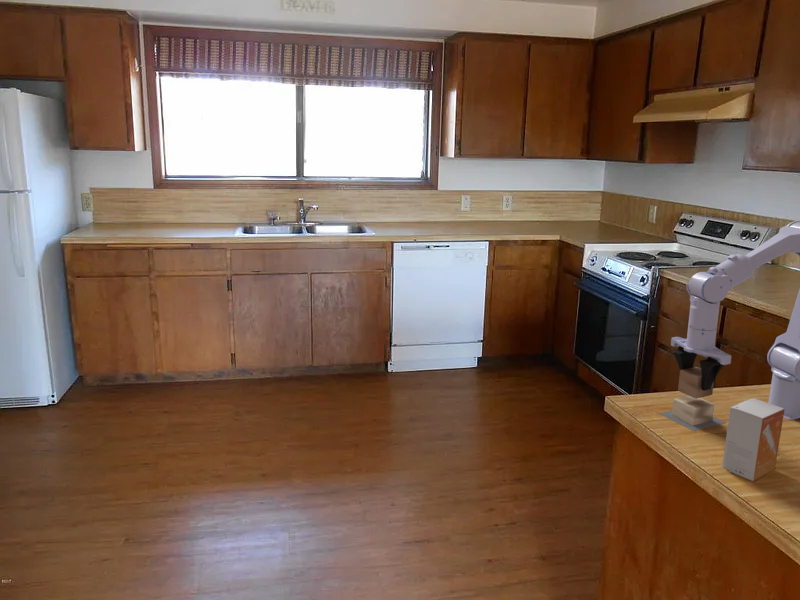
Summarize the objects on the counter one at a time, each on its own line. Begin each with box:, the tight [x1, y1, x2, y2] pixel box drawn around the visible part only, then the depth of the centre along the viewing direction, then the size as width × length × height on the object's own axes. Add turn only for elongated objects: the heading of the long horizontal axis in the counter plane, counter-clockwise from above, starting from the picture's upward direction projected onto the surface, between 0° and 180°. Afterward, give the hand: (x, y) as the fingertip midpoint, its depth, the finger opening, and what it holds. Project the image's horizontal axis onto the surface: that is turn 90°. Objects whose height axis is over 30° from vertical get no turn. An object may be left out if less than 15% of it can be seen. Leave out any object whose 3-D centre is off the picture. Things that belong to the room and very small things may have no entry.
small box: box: [721, 397, 785, 482], centre depth 122 cm, size 8×6×13 cm
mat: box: [658, 409, 727, 432], centre depth 145 cm, size 10×10×1 cm
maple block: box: [671, 395, 716, 425], centre depth 144 cm, size 6×6×4 cm
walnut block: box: [677, 366, 715, 399], centre depth 143 cm, size 5×5×5 cm
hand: (695, 384), depth 143 cm, fingers closed on walnut block, 5 cm apart
